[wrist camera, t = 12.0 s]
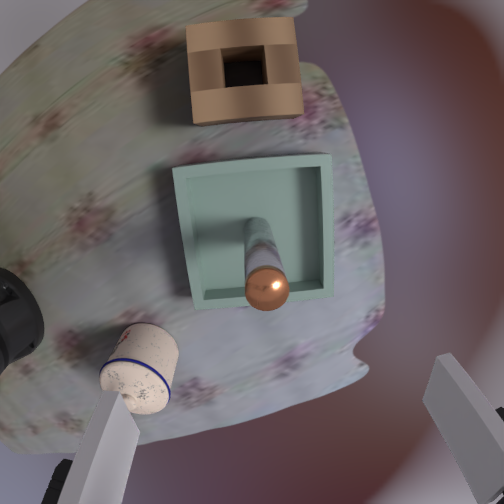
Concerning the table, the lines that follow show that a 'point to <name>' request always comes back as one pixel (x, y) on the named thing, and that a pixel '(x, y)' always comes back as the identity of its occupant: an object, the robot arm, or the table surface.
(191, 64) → the block
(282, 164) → the tray
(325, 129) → the table surface
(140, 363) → the teacup with lid
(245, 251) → the pin
